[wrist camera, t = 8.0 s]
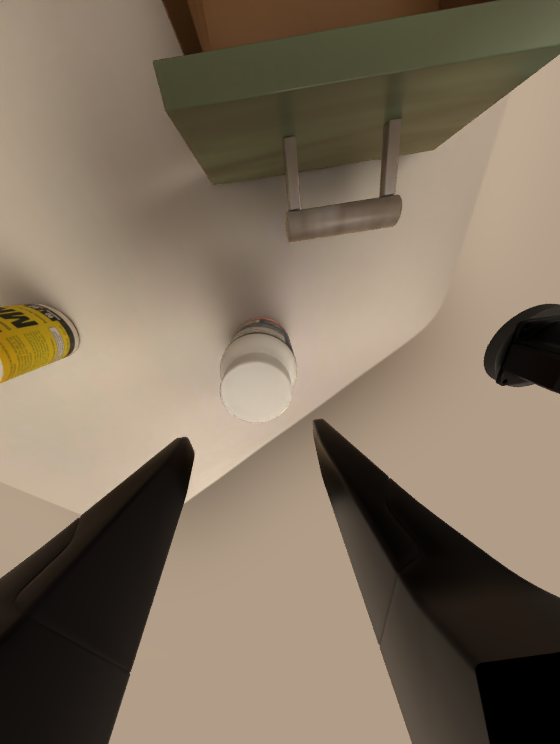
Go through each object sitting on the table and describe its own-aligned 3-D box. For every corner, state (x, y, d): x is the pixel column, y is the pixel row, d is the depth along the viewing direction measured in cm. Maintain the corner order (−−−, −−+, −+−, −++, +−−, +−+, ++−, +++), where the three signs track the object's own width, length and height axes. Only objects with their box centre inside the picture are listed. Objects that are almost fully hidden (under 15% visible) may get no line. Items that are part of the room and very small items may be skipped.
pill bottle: (281, 375, 21) (288, 439, 13) (229, 364, 20) (202, 424, 12) (296, 324, 19) (316, 363, 11) (239, 309, 18) (213, 339, 10)
